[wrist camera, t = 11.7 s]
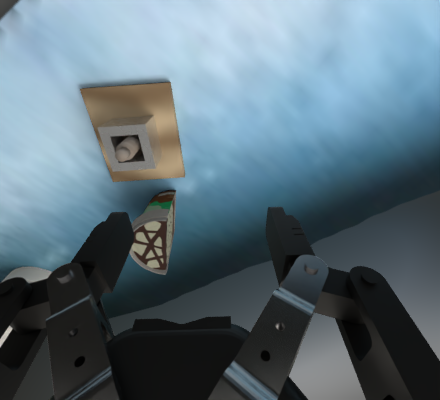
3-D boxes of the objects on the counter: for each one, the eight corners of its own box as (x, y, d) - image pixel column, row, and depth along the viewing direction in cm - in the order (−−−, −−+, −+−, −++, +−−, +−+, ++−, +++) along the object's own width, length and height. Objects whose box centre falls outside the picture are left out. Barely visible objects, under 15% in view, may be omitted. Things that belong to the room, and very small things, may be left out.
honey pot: (-6, 276, 50) (-100, 371, 35) (39, 259, 48) (-42, 353, 33) (40, 306, 57) (-23, 397, 41) (81, 293, 54) (30, 384, 39)
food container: (140, 179, 38) (119, 213, 30) (176, 183, 39) (166, 217, 30) (143, 233, 45) (127, 274, 36) (174, 236, 45) (165, 276, 37)
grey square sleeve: (112, 118, 32) (97, 127, 28) (154, 115, 32) (145, 124, 28) (124, 158, 35) (112, 171, 31) (162, 155, 35) (155, 168, 31)
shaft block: (83, 88, 31) (44, 97, 23) (170, 82, 30) (157, 89, 23) (115, 179, 38) (92, 207, 31) (185, 174, 38) (178, 201, 31)
